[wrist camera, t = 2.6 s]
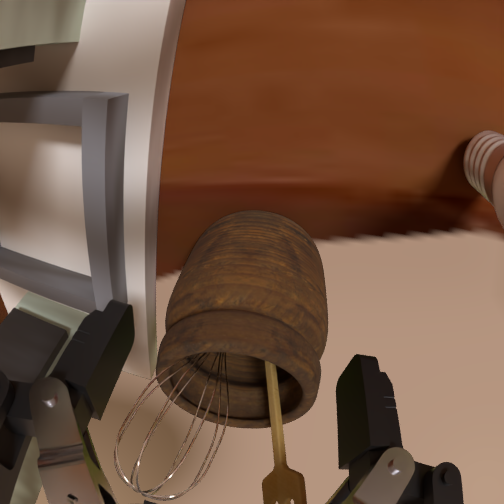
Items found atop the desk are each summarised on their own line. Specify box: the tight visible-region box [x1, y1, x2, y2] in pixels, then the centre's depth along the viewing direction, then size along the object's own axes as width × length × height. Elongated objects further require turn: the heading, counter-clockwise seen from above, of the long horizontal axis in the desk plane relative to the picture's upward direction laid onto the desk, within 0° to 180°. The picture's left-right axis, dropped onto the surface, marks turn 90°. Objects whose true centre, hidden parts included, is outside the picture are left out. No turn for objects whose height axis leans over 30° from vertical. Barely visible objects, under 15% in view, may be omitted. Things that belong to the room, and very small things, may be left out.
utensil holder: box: [114, 210, 328, 504], centre depth 10 cm, size 6×6×12 cm
